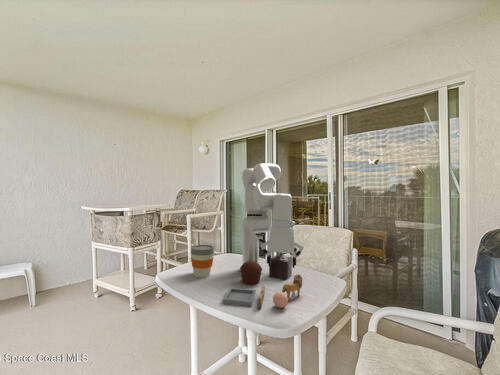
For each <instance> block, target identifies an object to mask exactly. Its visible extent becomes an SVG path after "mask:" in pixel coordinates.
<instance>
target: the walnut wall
mask: <svg viewBox="0 0 500 375" xmlns="http://www.w3.org/2000/svg"><path fill="white" fill-rule="evenodd" d="M265 288H266V286H263V285H262V286H261V289H260V291H259V296H258V300H257V302H258V303H257V306H258V307H257V309H258V310H262V308H263V302H264V298H265V291H266V290H265Z"/></svg>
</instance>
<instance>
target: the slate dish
mask: <svg viewBox="0 0 500 375" xmlns="http://www.w3.org/2000/svg"><path fill="white" fill-rule="evenodd" d="M256 293H257V291H256V289H252V288H251V289H250V288H241V287H239V288H238V287H229V288H228V291H227V292H226V294H225V295H224V297H223V299H222V304H225V305H235V306H245V307H252V306H253V304H254V301H255V297H256V295H257V294H256Z"/></svg>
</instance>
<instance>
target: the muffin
mask: <svg viewBox="0 0 500 375" xmlns="http://www.w3.org/2000/svg"><path fill="white" fill-rule="evenodd" d="M240 267H241V268H240ZM240 267H239V271H240V270H241V271H240V272H241V274H240V275H241V280H242V283H243V284H244V285H249V286H253V285H258V284H259V283H260V280H261V274H262V271H263V268H262V266H261V265H260V263H259V264H258V263H256V262H253V261H248V262H245V263H244V264H243V263H242V264H241V265H240Z"/></svg>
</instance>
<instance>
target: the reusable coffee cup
mask: <svg viewBox="0 0 500 375" xmlns="http://www.w3.org/2000/svg"><path fill="white" fill-rule="evenodd" d="M214 248H215V247H214V246H213V245H209V244H197V245H193V246H192V247H191V248H190V254H191V259H190V260H191V266H192V272H193V273H192V274H193V276H194V277H195V278H200V279H201V278H208V277H209V276H211V272H212V267H213V262H214V254H215V249H214Z"/></svg>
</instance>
